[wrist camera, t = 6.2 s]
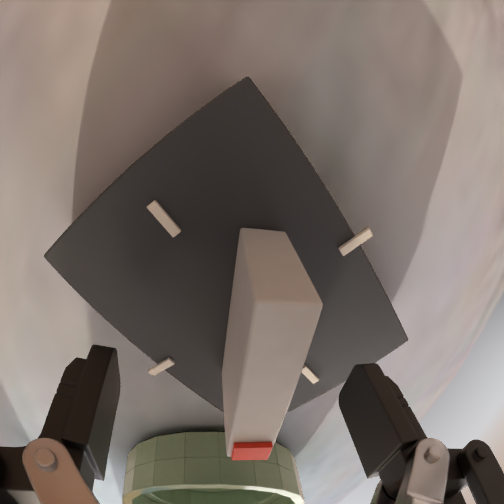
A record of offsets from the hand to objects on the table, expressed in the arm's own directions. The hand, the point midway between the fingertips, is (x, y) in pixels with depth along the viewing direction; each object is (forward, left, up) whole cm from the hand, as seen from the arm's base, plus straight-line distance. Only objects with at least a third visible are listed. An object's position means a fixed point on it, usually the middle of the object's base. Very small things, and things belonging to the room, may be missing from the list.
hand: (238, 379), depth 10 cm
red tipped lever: (0, +1, -3) cm, 3 cm away
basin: (+14, -13, -6) cm, 20 cm away
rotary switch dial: (0, +1, -6) cm, 6 cm away
